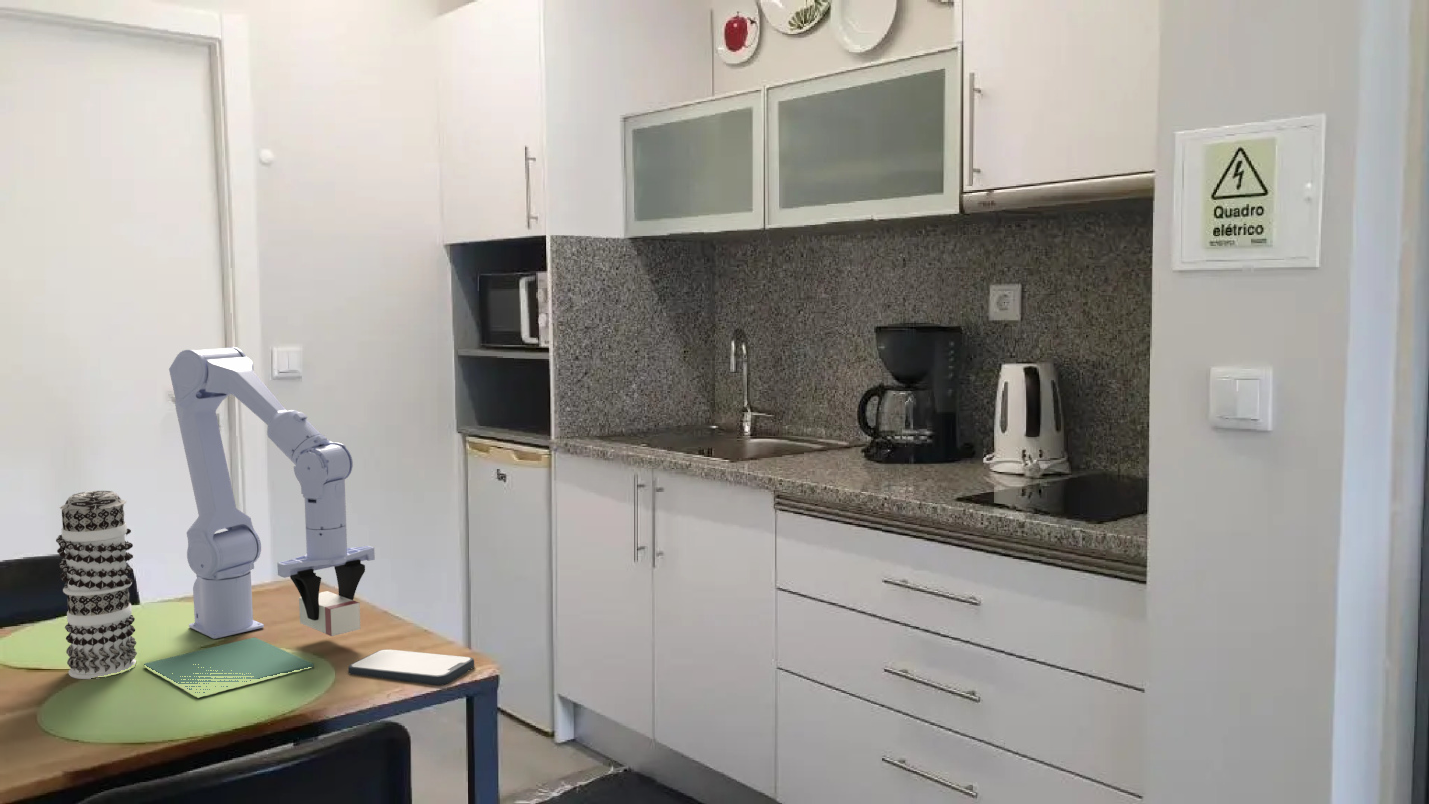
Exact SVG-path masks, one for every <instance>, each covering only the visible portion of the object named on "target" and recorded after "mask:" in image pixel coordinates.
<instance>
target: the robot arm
mask: <svg viewBox="0 0 1429 804" xmlns="http://www.w3.org/2000/svg"><path fill="white" fill-rule="evenodd" d="M168 370H169V376H170V379H171V384H172V389H173V395H174V398H175V399H174V402H175V403H174V405H175V411H176V414H177V415H176V416H177V420H178V424H179V425H178V426H179V429H180V434H181V438H182V443H183V449H184V453H185V458H186V462H187V463H186V464H187V468H188V472H189V475H190V480H191V485H192V490H193V495H194V499H195V505H196V509H197V514H198V517H197V518H196V519H195V521H194V522H193V523H192V524H191V525H190V527H189V528H188V529H187V531H186V537H187V551H186V558H187V563H188V566H189V567H190V569H191V571H192V572H193V573H194V574H195V575H196V579H195V581H194V583H193V588H192V592H193V594H192V595H193V611H194V614H193V615H194V622H192V623H189V624H188V627H189V628H191V629H192V630H194V631H197V632H199V633H200V634H203V635H205V636H207V637H210V638H211V639H214V640H215V639H220V638H224V637H228V636H233V635H237V634H242V633H245V632H250V631H255V630H258V629H259V630H260V629H262V628H264V626H265V624H264V623H262V622H259V621H256V620H255V619H254V611H253V609H254V608H253V593H252V592H253V591H252V572H251V571H253V570H254V569H255V563H256V562H257V561H258V560H259V558H260V557H261V553H262V543H261V539H260V537H259V535H258V533H257V532H256V530H255V529H254V526H253V522H252V518H251V516H249V515H247V514H246V513H244V512H243V511H241V510H239V509H238V508H237V506H236V505H237V504H236V501H235V496H234V491H233V487H232V482H231V477H230V473H229V469H228V464H227V459H226V458H227V457H226V454H225V449H224V445H223V440H222V436H221V430H220V426H219V422H218V416H217V409H218V408H219V406H220V405H221V404H222V402H223V401H225V399H226V398H228V397H229V396H230V395H233V396H234V398H236V399H237V400H238V401H239V402H240V403H242V404H243V405H244V406H246V408H247V409H248V410H250V411H251V412H252V413H254V415H255V416H257V417H258V418H259V419H260V420H261V421H262V422H264V424H265V425H267V430H266V435H267V437H268V438H269V440H270V441H271V442H272V443H273V444H274V445H275V446H276V447H277V448H278V449H279V450H280V451H281V452H282V453H283V454H284V455H285V456H286V457H287V459H289V460H290V461H291V462H292V463H293V464H294V466H293V472H294V476H295V479H297V481H298V482H299V484H300V485H299V486H300V490H301V491H300V493H301V495H302V497H303V498H304V514H305V515H304V518H305V522H304V523H305V543H306V545H305V546H306V554H304V555H300V556H298V557H295V558H290V559H287V560H284V561H280V562H277V563H276V564H277V565H276V566H277V576H279V577H281V578H284V579H286V578H290V580H291V581H292V583H293V584H294V586H295V588H296V589H297V592H298V593H299V595H300V597H301V598H302V600H303V603H304V606H305V609H306V613H307V617H308V618H309V619H311V620H318V619H319V593H320V587H321V582H322V577H321V576H318V575H316V574H317V573H316V572H315V571H318V570H323V569H324V570H325V569H329V568H334V570H335V575H336V581H337V587H338V589H337V590H338V595H340V596H342V597H345V598H348V599H351V600H353V601H354V598H355V594H356V591H357V589H358V588H357V587H358V586H359V583H360V581H361V579H362V577H363V576H364V574H365V572H366V565H365V564H363V563H362V562H364V561H375V556H376V555H375V554H376V553H375V547H373V546H371V545H364V546H355V547H348V538H347V537H348V536H347V535H348V534H347V533H348V531H347V511H346V509H347V508H346V507H347V506H346V481H345V480H346V479H347V478H348V477H350V475H351V473H352V471H353V466H354V464H353V463H354V462H353V457H352V454H351V452H350V451H349V449H347V447H346V444H344V443H341V442H338V441H337V442H335V441H334V442H333V441H332V440H330V439H328V438H327V437H326V436H325V435H324V434H322V433H321V432H320V431H318V429H317V428H316V427H314V426H313V424H311V422H310V421H309V420H308V416H307V415H306V414H305V413H304V412H303V411H298V410H296V409H289V410H287V409H286V408H285V407H284V406H283V405H282V404H281V402H280V401H279V400H278V398H276V396H275V394H273V393H272V392H271V390H270V389H269V388H268V387H267V386H266V384H265V383H264V382H263V381H262V380H261V378H260V377H259V376H258V374H257V373H255V372H254V371H255V370H254V362H253V360H252V359H251V358H249V357H248V356H247V355H246V354H245V353H244V351H243V350H242V349H240V348H239V347H235V346H228V347H224V348H220V347H219V348H207V349H183V350H182V351H180V352H179V353H178V354H176V357H175V358H174V360H173V361H172V363H171V365H170V366H169V369H168ZM223 529H226V530H224V531H220V530H223ZM218 531H220V532H218ZM216 532H217V533H216Z"/></svg>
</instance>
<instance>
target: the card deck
mask: <svg viewBox="0 0 1429 804" xmlns="http://www.w3.org/2000/svg"><path fill="white" fill-rule="evenodd" d="M298 602H299V603H298V604H299V607H298V608H299V610H298V611H299V624H301V625H303V626H307V628H308V627H309V628H311V629H314V630H316V631H318V632H321V633H323V634H325V635H327V636H330V637H334V636H339V635H343V634H346V633H350V632H354V631H357V630H361V609H360V607H361V605H360V602H359V601H357V600H354V599H353V600H351V599H348V598H345V597H342V596H340V595H339V594H336V593H334V592H331V591H328V590H326V591H325V590H324V591H321V592H319V619H318V620H311V619H309V618H308V617H307V613H306V609H305V606H304V603H303V600H302V598H301V596H299V597H298Z"/></svg>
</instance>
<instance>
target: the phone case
mask: <svg viewBox="0 0 1429 804" xmlns="http://www.w3.org/2000/svg"><path fill="white" fill-rule="evenodd" d="M473 667H474V668H475V659H474V658H473V657H470V656H459V655H450V654H439V653H430V652H420V651H409V650H399V649H390V648H389V649H388V648H386V649H380V650H377V651H376V652H373V653H371V654H369V655H367V656H365V657H363V658H361V659H358V660H357V661H355V662H352V663H350V664H349V665H348V668H347V669H348V670H347V671H348V674H349V673H350V675H353V674H354V675H353V676H355V675H356V676H361V677H362V676H363V677H369V678H370V677H371V678H378V679H385V680H392V681H399V680H400V681H401V682H409V683H416V684H424V685H432V686H442V685H443V686H444V685H447V684H450V683H452V681H455V680H457V679H458V678H460V677H461V676H462V675H464V674H467V671H468V670H470V671H471V670H472V669H471V668H473ZM474 668H473V669H474ZM468 672H469V671H468Z"/></svg>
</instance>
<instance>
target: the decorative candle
mask: <svg viewBox="0 0 1429 804" xmlns="http://www.w3.org/2000/svg"><path fill="white" fill-rule="evenodd" d="M125 504H127V500H124V499H122V498H121V497H120V496H119V495H118V494H117V493H116V492H114V491H113V490H93V491H92V490H90V491H82V492H78V493H73V494H72V495H70V496H69V497H68V498H67V500H66V501H65V504H63V505H60V507H59V509H60V510H61V522H62V528H61V534H59V535H57V536H58V537H57V538H56V539H55V542H56V543H57V544H58V546H59V548H57V550H56V552H57V554H58V556H59V557H61V558H63V559H61V561H60V563H59V564H58V567H59V569H60V570H61V572H62V573H61V574H60V576H59V577H60V579H61V581H62V582H63V583H65V584H64V587H62V592H63V594H65V595H66V596H67V610H68V611H67V612H66V617H67V624H66V625H65V626H64V629H65V630H66V632H67V633H68V635H66V637H65V640H66V641H67V643H68V644H69V646H68V647H67V648H66V651H65V652H66V654H67V656H68V659H67V660H66V661H67V662H66V663H67V665H68V667H69V670H68V675H69V676H70V678H73V679H77V680H92V679H91V678H94V677H98V676H104V675H108V674H111V673H117V672H120V671H121V670H125V669H128V668H129V667H131V666H132V665H134V664H135V663H136V661H137V660H136V659H135V658H136V656H137V654H138V652H137V651H136V648H135V646H136V645H137V641H136V639H135V637H134V636H132V635H134V633H135V632H136V628H135V626H134V625H132V624H133V623H134V622H135V617H134V615H133V612H132V603H131V602H130V591H129V588H130V587H131V586H132V584H133V581H134V580H133V579H132V578H130V577H129V575H130V574H132V573H133V571H134V568H133V567H129V566H127V562H129V561H130V560H132V559H134V554H132V553H130V552H127V551H129V550H131V549H132V548H133V547H134V545H133V543H132V542H129V541H128V540H126V538H125V537H127V536H128V535H130V533H132V530H131V528H127V522H126V521H125V511H124V506H125Z"/></svg>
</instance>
